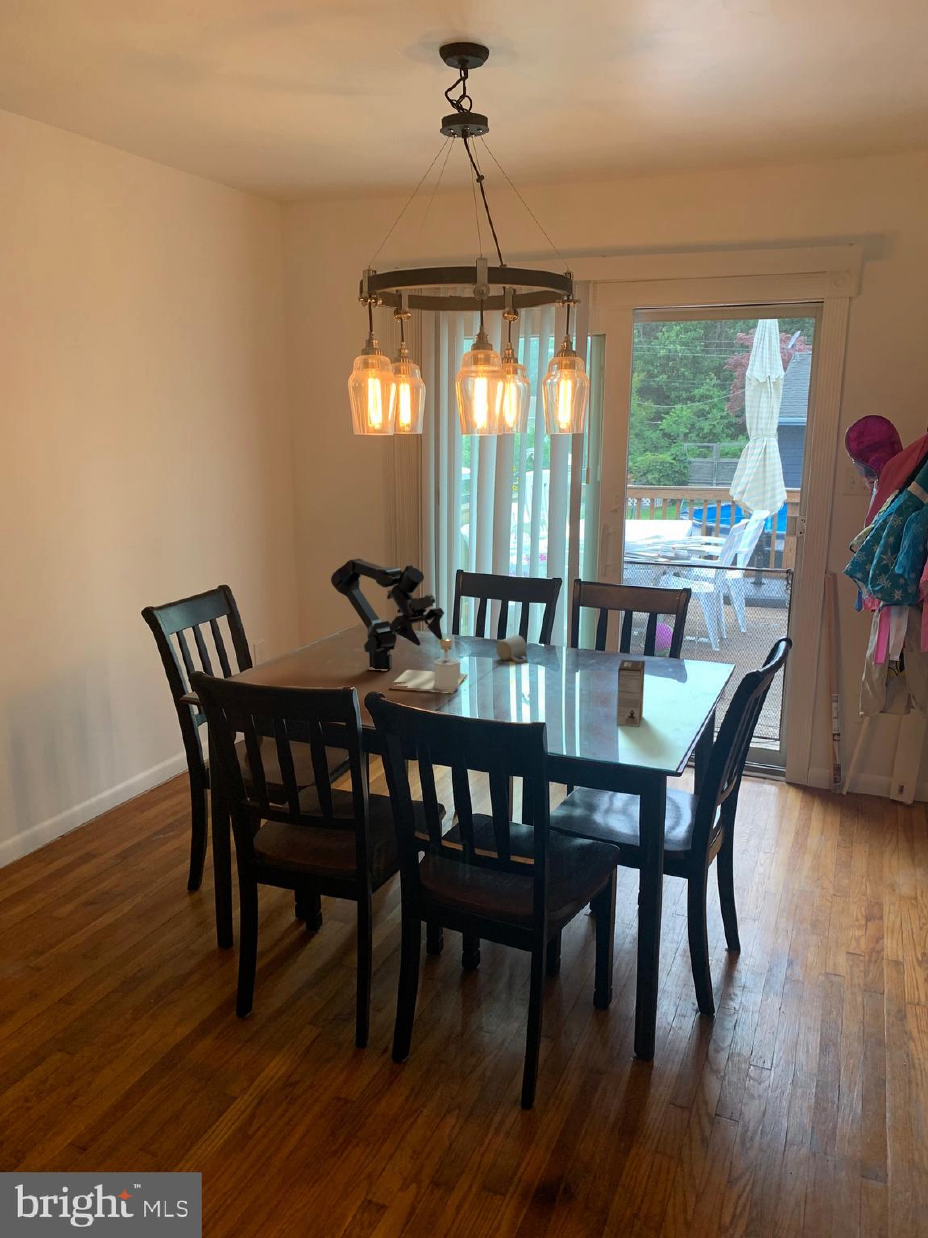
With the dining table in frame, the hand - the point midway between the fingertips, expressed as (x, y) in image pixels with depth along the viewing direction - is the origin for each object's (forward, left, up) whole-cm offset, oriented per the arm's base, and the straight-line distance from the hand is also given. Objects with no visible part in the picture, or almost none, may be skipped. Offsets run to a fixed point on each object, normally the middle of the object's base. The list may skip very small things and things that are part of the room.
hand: (430, 642), depth 273 cm
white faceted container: (+6, -3, -13) cm, 14 cm away
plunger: (+6, -3, -7) cm, 10 cm away
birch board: (-1, +2, -14) cm, 14 cm away
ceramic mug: (+19, +34, -14) cm, 42 cm away
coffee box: (+62, -18, -14) cm, 66 cm away
